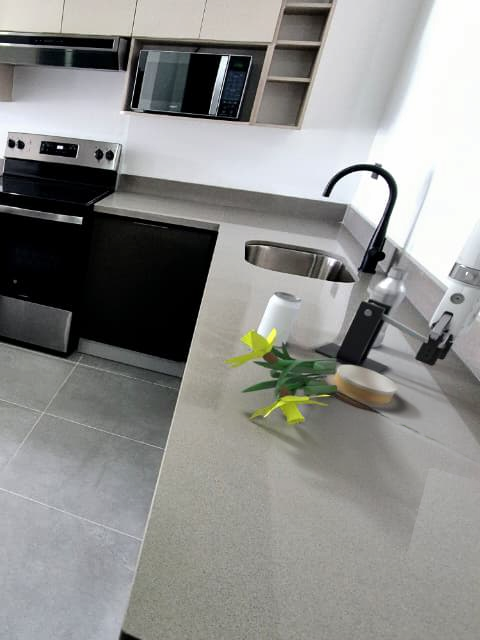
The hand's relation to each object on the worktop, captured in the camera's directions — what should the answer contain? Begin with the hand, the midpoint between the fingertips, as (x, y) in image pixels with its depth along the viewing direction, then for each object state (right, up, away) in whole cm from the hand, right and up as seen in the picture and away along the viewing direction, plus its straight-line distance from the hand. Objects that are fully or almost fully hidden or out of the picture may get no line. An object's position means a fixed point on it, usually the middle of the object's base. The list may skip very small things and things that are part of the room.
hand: (429, 358), depth 103 cm
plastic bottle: (+3, +2, +23) cm, 24 cm away
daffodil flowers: (-36, -8, -9) cm, 38 cm away
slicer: (-8, -2, +12) cm, 15 cm away
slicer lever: (-3, +5, +4) cm, 7 cm away
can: (-24, +2, +17) cm, 29 cm away
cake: (-15, -7, -1) cm, 17 cm away
